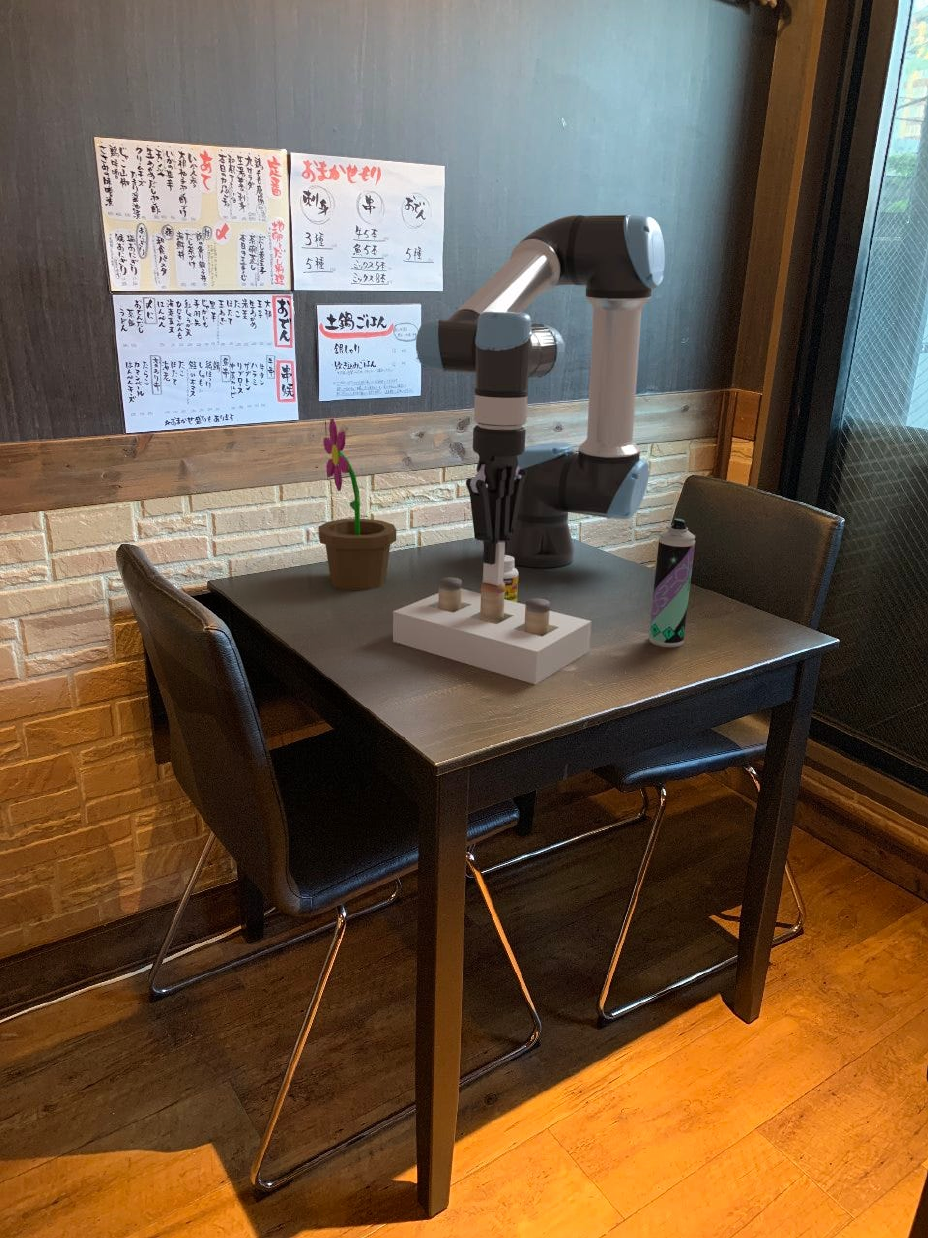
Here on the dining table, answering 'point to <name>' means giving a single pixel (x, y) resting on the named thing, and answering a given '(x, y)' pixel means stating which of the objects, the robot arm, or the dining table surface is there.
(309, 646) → the dining table surface
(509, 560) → the supplement bottle
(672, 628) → the spray can
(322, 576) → the dining table surface
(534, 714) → the dining table surface
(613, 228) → the robot arm
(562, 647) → the socket board
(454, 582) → the plug
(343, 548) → the flowerpot
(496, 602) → the plug
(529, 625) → the plug
